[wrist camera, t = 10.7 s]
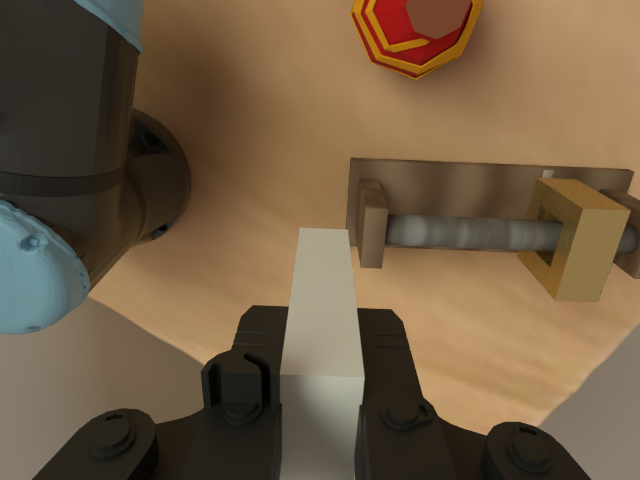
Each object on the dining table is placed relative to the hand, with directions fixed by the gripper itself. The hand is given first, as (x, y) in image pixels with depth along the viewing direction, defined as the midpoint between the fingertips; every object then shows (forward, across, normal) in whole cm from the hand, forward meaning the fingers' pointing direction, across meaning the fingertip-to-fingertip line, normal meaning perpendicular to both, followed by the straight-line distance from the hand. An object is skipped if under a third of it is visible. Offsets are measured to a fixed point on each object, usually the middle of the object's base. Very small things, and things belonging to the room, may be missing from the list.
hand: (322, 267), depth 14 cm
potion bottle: (+35, +7, +9) cm, 36 cm away
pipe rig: (+34, +18, -10) cm, 40 cm away
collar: (+31, +24, -10) cm, 41 cm away
